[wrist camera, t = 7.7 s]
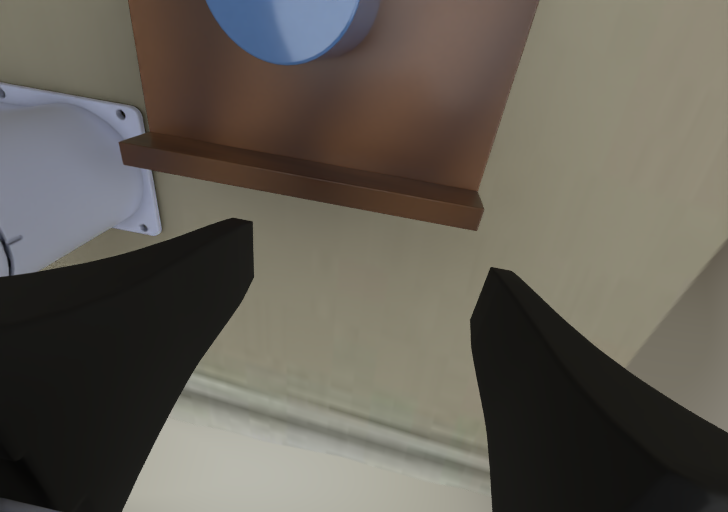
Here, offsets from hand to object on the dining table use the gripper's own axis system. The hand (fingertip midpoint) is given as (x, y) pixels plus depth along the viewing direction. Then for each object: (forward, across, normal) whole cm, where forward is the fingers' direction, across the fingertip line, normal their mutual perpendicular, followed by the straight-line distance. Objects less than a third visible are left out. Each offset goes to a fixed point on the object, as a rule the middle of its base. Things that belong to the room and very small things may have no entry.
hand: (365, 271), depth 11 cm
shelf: (+10, +4, -5) cm, 12 cm away
